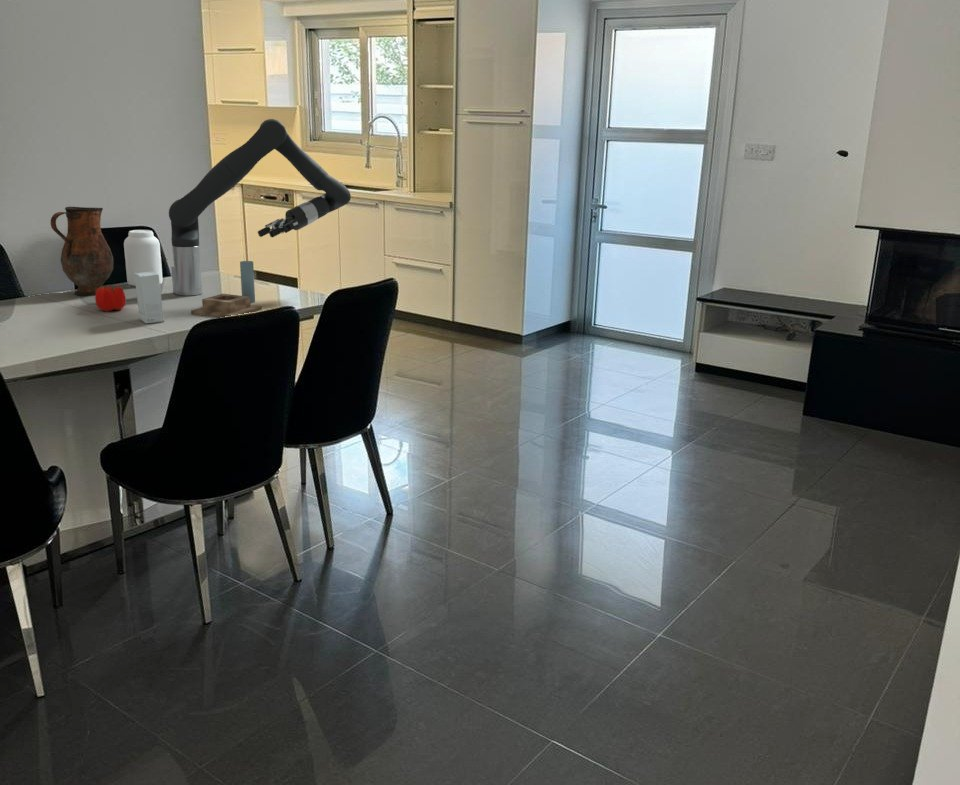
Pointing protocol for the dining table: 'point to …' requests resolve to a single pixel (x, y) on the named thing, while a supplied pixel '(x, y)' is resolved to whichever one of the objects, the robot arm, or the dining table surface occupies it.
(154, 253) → the white supplement bottle
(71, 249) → the pitcher
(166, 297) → the dining table surface
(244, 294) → the peg
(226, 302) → the socket
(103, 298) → the red bell pepper
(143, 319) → the skincare box
